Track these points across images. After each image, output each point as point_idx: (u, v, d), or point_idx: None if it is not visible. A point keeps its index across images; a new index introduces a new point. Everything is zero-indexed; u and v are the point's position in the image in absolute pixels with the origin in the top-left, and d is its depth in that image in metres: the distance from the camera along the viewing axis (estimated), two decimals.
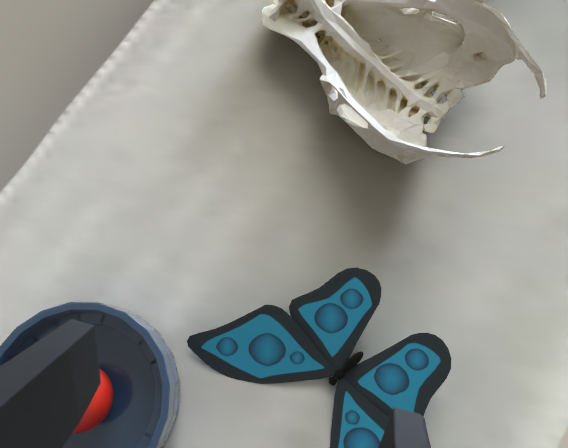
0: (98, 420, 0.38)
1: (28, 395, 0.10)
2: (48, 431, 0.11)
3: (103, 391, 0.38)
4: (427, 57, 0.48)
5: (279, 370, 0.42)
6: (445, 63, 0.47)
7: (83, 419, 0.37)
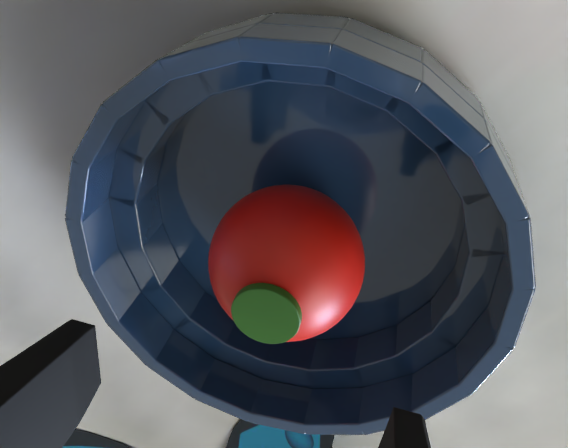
0: None
1: (28, 395, 0.10)
2: (48, 431, 0.11)
3: None
4: None
5: None
6: None
7: (221, 305, 0.16)
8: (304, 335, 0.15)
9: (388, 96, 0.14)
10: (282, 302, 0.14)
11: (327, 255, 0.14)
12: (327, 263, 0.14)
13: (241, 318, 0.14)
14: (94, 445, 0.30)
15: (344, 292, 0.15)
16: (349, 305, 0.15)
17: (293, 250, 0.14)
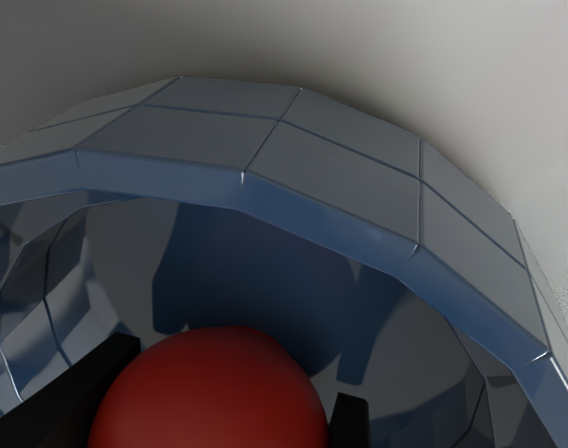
0: None
1: (81, 411, 0.10)
2: None
3: None
4: None
5: None
6: None
7: None
8: None
9: None
10: None
11: None
12: None
13: None
14: None
15: None
16: None
17: None
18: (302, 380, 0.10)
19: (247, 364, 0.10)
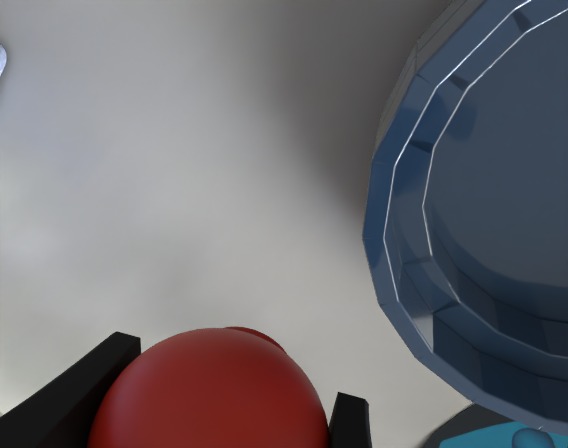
0: None
1: (81, 411, 0.10)
2: None
3: None
4: None
5: None
6: None
7: None
8: None
9: None
10: None
11: None
12: None
13: None
14: None
15: None
16: None
17: None
18: (302, 381, 0.10)
19: (247, 365, 0.10)
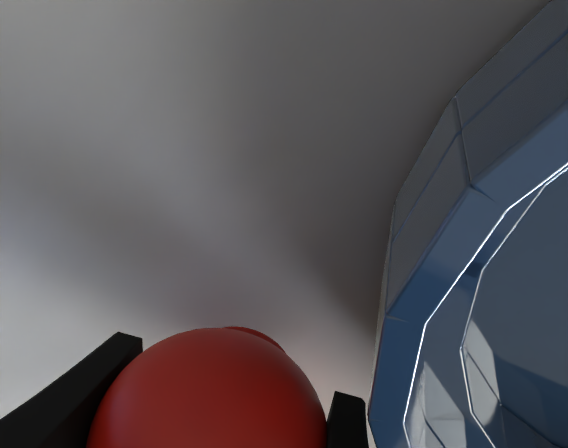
0: None
1: (84, 412, 0.10)
2: None
3: None
4: None
5: None
6: None
7: None
8: None
9: None
10: None
11: None
12: None
13: None
14: None
15: None
16: None
17: None
18: (301, 381, 0.10)
19: (246, 365, 0.10)
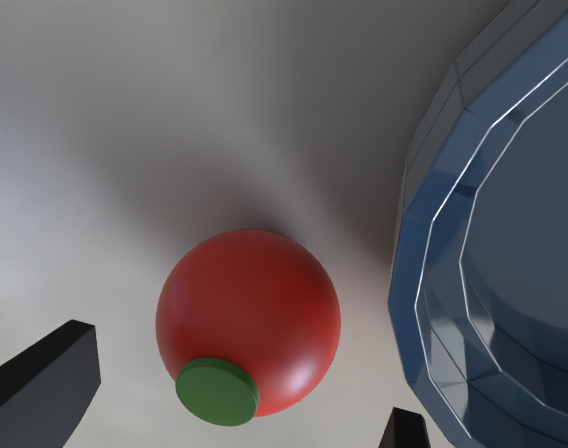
0: None
1: (28, 395, 0.10)
2: (48, 431, 0.11)
3: None
4: None
5: None
6: None
7: None
8: (266, 413, 0.13)
9: None
10: (235, 382, 0.11)
11: (290, 322, 0.12)
12: (290, 332, 0.12)
13: (188, 397, 0.12)
14: None
15: (312, 364, 0.12)
16: (320, 376, 0.13)
17: (249, 318, 0.12)
18: (318, 264, 0.14)
19: (278, 246, 0.13)
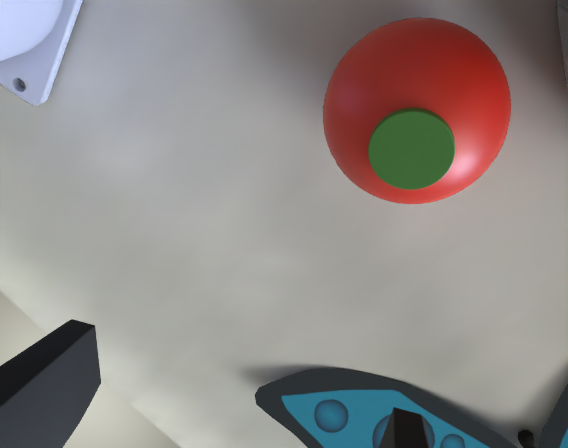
0: (338, 165, 0.15)
1: (28, 395, 0.10)
2: (48, 431, 0.11)
3: None
4: None
5: None
6: None
7: (345, 160, 0.14)
8: (450, 182, 0.13)
9: None
10: (435, 125, 0.12)
11: (479, 73, 0.12)
12: (480, 82, 0.12)
13: (380, 159, 0.12)
14: (363, 387, 0.23)
15: (498, 123, 0.12)
16: (499, 146, 0.13)
17: (441, 68, 0.12)
18: None
19: (448, 22, 0.13)
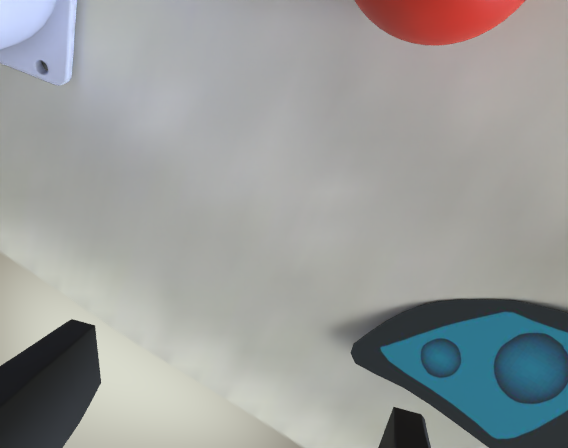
0: (373, 22, 0.13)
1: (28, 395, 0.10)
2: (48, 431, 0.11)
3: (455, 40, 0.12)
4: None
5: None
6: None
7: None
8: None
9: None
10: None
11: None
12: None
13: None
14: (470, 316, 0.21)
15: None
16: None
17: None
18: None
19: None
